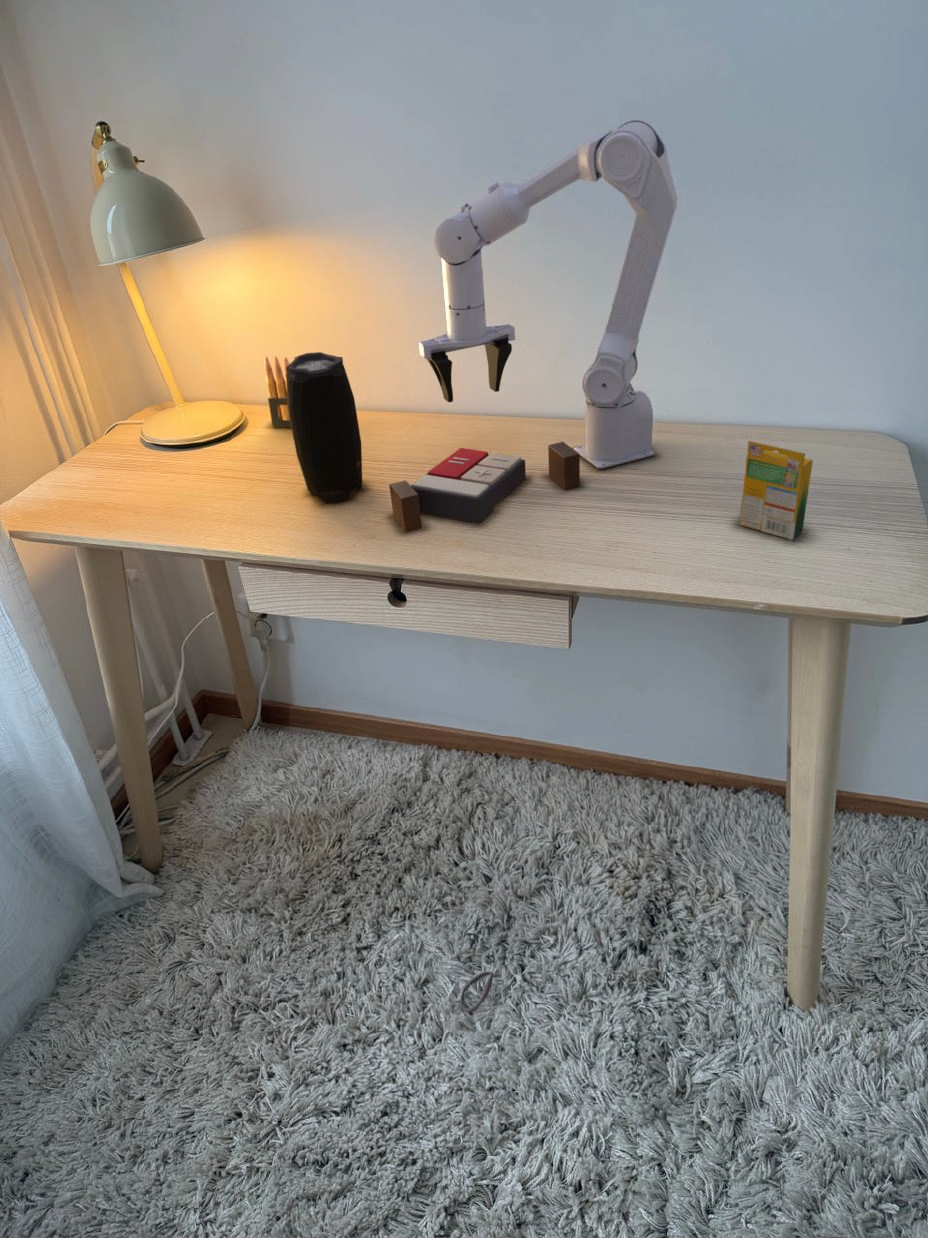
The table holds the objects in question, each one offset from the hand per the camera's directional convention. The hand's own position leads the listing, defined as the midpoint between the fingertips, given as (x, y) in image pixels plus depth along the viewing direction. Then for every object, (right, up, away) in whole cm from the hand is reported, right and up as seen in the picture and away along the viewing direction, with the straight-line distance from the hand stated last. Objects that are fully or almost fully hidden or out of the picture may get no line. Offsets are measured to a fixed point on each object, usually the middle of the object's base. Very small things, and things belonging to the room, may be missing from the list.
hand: (471, 394), depth 140 cm
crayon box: (+38, -23, -23) cm, 50 cm away
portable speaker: (-20, -16, -5) cm, 26 cm away
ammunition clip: (-29, -1, +17) cm, 34 cm away
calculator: (0, -17, -9) cm, 19 cm away
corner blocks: (+2, -18, -11) cm, 21 cm away
